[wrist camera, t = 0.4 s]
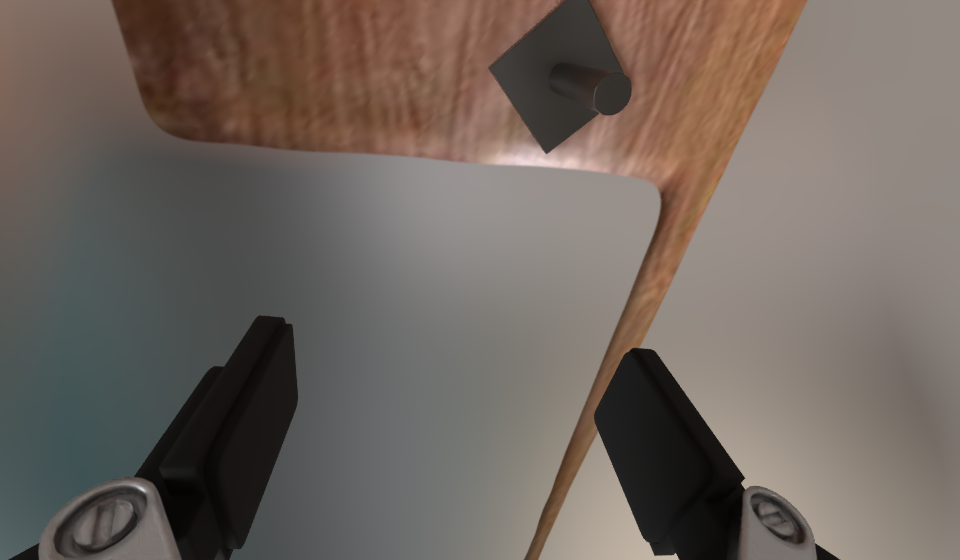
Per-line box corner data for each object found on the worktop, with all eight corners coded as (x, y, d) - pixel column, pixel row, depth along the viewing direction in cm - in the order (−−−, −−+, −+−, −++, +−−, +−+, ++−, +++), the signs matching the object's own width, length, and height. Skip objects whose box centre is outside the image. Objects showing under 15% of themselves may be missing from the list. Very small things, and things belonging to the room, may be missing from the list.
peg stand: (577, -12, 30) (650, -39, 20) (625, 87, 35) (706, 107, 24) (487, 67, 33) (511, 80, 22) (543, 151, 37) (584, 194, 27)
